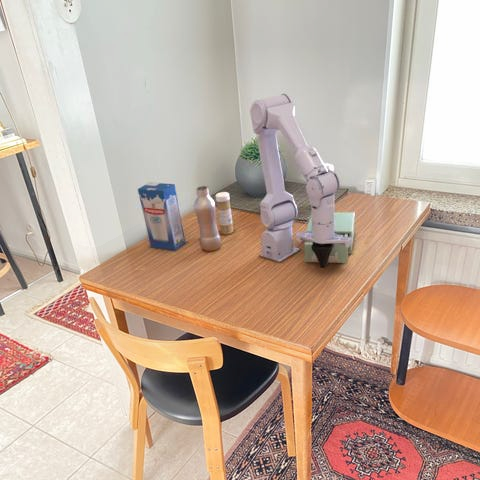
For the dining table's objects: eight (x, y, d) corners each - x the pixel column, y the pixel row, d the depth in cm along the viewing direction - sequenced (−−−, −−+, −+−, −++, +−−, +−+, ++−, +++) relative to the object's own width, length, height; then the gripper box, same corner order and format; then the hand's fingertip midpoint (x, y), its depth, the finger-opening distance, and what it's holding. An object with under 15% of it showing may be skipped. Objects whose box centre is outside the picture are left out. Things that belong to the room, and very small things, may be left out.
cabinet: (351, 254, 142) (351, 231, 138) (306, 253, 145) (305, 231, 141) (354, 233, 153) (354, 212, 149) (312, 233, 157) (311, 212, 153)
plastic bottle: (219, 253, 152) (210, 191, 141) (198, 253, 153) (188, 192, 142) (223, 244, 157) (215, 184, 146) (204, 244, 159) (194, 184, 147)
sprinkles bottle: (228, 228, 168) (223, 190, 160) (236, 231, 165) (231, 193, 157) (217, 232, 165) (212, 194, 158) (225, 236, 162) (220, 197, 155)
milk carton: (150, 247, 161) (137, 188, 150) (161, 239, 166) (149, 182, 155) (175, 250, 157) (163, 190, 146) (185, 242, 161) (174, 184, 150)
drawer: (346, 270, 132) (346, 252, 129) (302, 269, 136) (302, 251, 132) (350, 242, 147) (350, 225, 144) (311, 241, 150) (310, 225, 147)
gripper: (355, 216, 124) (354, 263, 131) (302, 211, 130) (304, 257, 138) (346, 227, 119) (345, 275, 126) (292, 222, 125) (294, 268, 133)
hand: (323, 266), depth 132 cm, fingers closed
